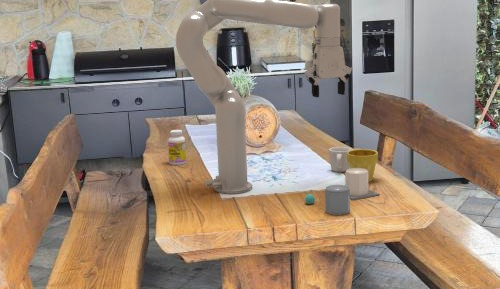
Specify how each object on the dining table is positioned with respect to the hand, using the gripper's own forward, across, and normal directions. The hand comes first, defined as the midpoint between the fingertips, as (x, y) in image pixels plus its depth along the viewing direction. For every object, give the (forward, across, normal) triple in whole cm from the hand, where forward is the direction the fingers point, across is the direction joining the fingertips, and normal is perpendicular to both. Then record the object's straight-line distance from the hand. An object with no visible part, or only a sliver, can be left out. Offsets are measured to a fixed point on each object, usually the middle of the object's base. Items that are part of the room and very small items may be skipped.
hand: (328, 95), depth 237 cm
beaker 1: (+30, -14, -27) cm, 43 cm away
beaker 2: (+30, +1, -15) cm, 33 cm away
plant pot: (+30, +12, -2) cm, 33 cm away
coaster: (+30, +1, -15) cm, 33 cm away
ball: (+30, -17, -16) cm, 38 cm away
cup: (+30, +12, +12) cm, 35 cm away
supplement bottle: (+31, -33, +57) cm, 73 cm away
